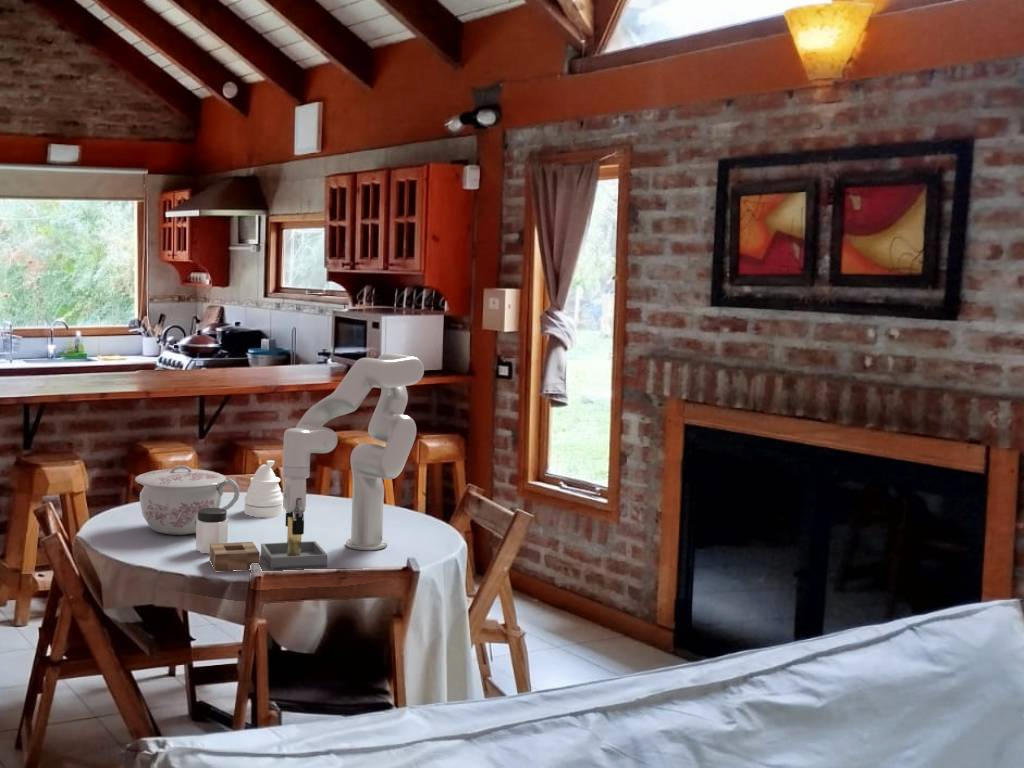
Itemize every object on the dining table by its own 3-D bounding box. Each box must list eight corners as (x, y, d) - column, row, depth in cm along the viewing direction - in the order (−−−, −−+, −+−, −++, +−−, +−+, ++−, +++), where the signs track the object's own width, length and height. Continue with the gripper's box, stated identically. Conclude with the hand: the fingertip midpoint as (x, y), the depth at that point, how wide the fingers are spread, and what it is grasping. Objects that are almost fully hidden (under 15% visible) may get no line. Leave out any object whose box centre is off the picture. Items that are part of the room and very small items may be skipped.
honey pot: (287, 510, 396) (289, 458, 394) (276, 518, 383) (277, 465, 381) (251, 507, 397) (252, 456, 395) (238, 516, 384) (240, 462, 382)
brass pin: (285, 556, 334) (286, 516, 333) (299, 556, 335) (300, 515, 334) (288, 560, 330) (289, 519, 329) (302, 559, 332) (303, 518, 331)
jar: (209, 545, 345) (209, 506, 344) (232, 549, 343) (233, 509, 341) (190, 552, 337) (191, 511, 336) (213, 556, 334) (214, 515, 333)
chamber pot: (114, 531, 356) (115, 465, 353) (179, 515, 380) (180, 453, 378) (183, 546, 343) (184, 477, 341) (245, 529, 367) (246, 465, 365)
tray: (260, 555, 337) (261, 543, 337) (315, 552, 343) (315, 541, 343) (270, 570, 323) (270, 558, 322) (327, 567, 329) (327, 555, 328)
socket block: (209, 560, 329) (209, 543, 328) (252, 558, 333) (252, 541, 333) (215, 572, 318) (215, 554, 317) (259, 569, 322) (259, 552, 322)
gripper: (277, 466, 337) (275, 523, 338) (288, 478, 321) (287, 538, 323) (303, 465, 339) (301, 522, 341) (315, 477, 323) (313, 537, 325)
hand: (294, 530), depth 332 cm, fingers open, 9 cm apart
